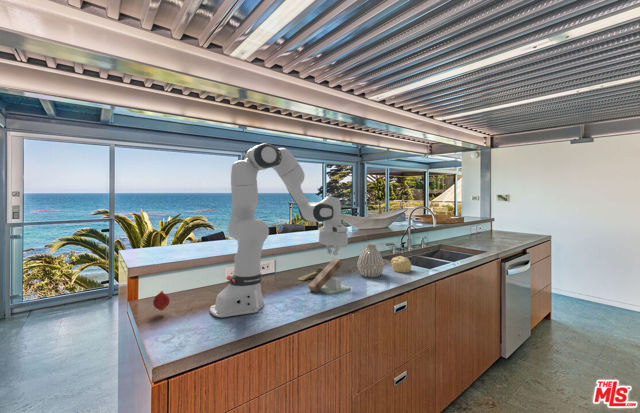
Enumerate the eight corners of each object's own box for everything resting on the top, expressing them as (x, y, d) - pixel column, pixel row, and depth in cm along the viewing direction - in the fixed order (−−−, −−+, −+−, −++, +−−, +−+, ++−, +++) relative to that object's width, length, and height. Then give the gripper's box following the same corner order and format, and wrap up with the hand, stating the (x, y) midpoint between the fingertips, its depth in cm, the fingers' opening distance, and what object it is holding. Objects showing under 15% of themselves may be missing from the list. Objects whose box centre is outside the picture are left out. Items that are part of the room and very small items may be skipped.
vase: (389, 277, 176) (389, 244, 176) (370, 281, 167) (370, 246, 167) (370, 272, 190) (370, 241, 189) (351, 275, 181) (352, 243, 180)
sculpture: (388, 271, 192) (388, 255, 192) (402, 270, 197) (402, 254, 197) (400, 275, 181) (400, 258, 181) (414, 273, 187) (415, 256, 186)
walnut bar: (314, 287, 144) (307, 285, 148) (316, 292, 145) (310, 290, 149) (340, 259, 157) (333, 258, 160) (342, 264, 158) (336, 263, 161)
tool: (300, 282, 166) (299, 274, 166) (297, 281, 171) (296, 273, 172) (335, 275, 175) (334, 267, 175) (331, 274, 181) (330, 266, 181)
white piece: (329, 294, 143) (329, 281, 143) (314, 288, 154) (314, 276, 154) (350, 289, 151) (350, 277, 151) (335, 283, 162) (335, 273, 162)
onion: (152, 313, 117) (152, 293, 117) (154, 309, 122) (154, 289, 122) (168, 311, 119) (168, 292, 119) (169, 307, 124) (169, 288, 124)
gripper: (316, 226, 159) (316, 252, 159) (340, 229, 142) (340, 257, 142) (325, 226, 163) (325, 251, 163) (349, 228, 146) (350, 256, 146)
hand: (332, 254), depth 152 cm, fingers open, 4 cm apart
